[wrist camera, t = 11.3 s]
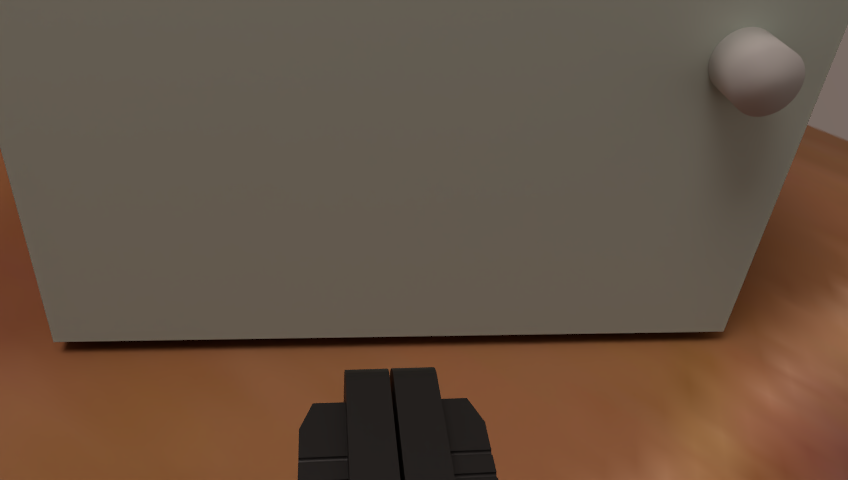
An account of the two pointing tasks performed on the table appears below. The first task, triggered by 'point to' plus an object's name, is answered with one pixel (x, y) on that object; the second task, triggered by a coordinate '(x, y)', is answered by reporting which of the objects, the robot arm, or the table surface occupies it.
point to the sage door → (401, 161)
